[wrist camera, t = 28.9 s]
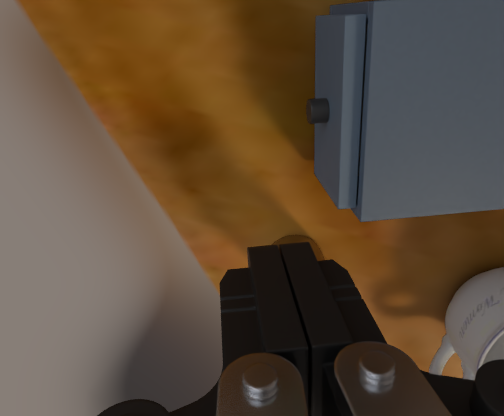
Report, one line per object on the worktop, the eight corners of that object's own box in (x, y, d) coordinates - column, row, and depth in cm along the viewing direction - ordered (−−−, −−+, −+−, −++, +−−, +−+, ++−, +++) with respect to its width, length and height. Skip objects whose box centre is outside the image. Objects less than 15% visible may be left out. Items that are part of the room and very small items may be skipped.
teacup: (531, 234, 39) (605, 284, 31) (543, 319, 43) (610, 380, 36) (388, 290, 40) (428, 352, 33) (414, 367, 44) (454, 436, 37)
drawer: (299, 175, 33) (319, 211, 27) (298, 16, 28) (322, 16, 22) (478, 160, 34) (537, 192, 28) (505, 4, 29) (584, 0, 23)
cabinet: (326, 176, 34) (360, 222, 27) (329, 5, 29) (373, 0, 21) (496, 161, 35) (578, 202, 27) (530, -7, 30) (642, -15, 22)
